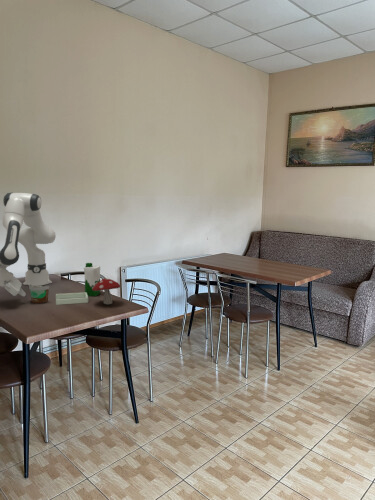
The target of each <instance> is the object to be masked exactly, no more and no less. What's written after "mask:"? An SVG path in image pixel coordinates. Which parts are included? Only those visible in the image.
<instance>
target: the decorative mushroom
mask: <svg viewBox="0 0 375 500" xmlns="http://www.w3.org/2000/svg"><path fill="white" fill-rule="evenodd" d="M119 288H121V284H120V283H118V282H117V281H116V280H113V279H110V278H106V277H105V278H103V279H100V281H99V282H98V283H97V284H96V285H95V286H94V287H93V288H92V290H93V291H100V292H101V291H104V295H103V296H104V297H103V304H104V305H112V304H113V297H112V293H111V291H110V290H113V289H119Z"/></svg>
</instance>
